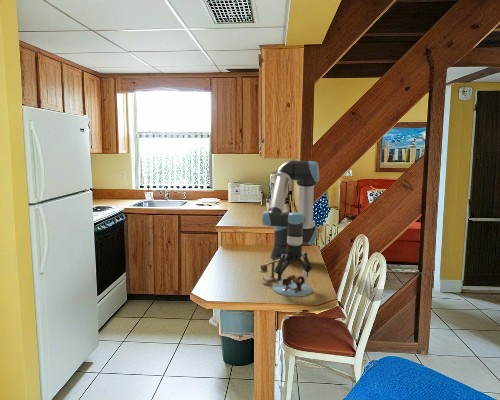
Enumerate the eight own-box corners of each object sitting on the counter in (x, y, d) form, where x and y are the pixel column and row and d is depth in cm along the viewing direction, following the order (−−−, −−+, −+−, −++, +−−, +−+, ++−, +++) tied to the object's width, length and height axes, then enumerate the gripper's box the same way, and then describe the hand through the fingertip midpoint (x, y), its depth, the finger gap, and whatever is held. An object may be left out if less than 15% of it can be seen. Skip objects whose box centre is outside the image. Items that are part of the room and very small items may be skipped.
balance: (283, 276, 224) (284, 256, 223) (287, 279, 220) (288, 259, 218) (257, 279, 218) (257, 259, 216) (261, 282, 213) (262, 261, 212)
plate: (299, 280, 219) (299, 279, 219) (320, 293, 201) (320, 292, 201) (265, 284, 211) (265, 283, 211) (284, 298, 193) (284, 297, 193)
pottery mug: (292, 295, 197) (285, 279, 198) (283, 297, 205) (276, 282, 206) (311, 285, 203) (304, 270, 204) (301, 287, 211) (295, 273, 212)
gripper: (311, 240, 211) (309, 279, 214) (268, 243, 201) (267, 285, 204) (320, 243, 204) (317, 284, 207) (275, 247, 194) (273, 290, 197)
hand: (292, 285), depth 205 cm, fingers open, 13 cm apart
